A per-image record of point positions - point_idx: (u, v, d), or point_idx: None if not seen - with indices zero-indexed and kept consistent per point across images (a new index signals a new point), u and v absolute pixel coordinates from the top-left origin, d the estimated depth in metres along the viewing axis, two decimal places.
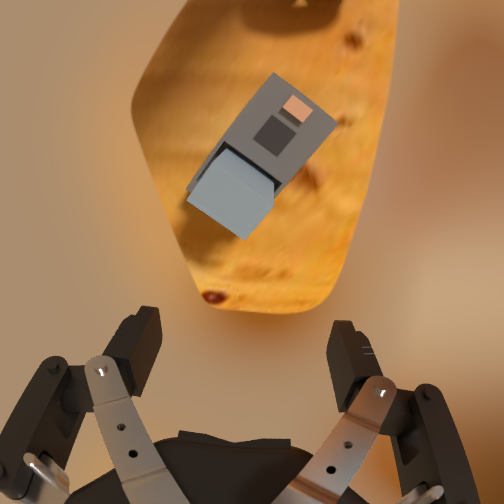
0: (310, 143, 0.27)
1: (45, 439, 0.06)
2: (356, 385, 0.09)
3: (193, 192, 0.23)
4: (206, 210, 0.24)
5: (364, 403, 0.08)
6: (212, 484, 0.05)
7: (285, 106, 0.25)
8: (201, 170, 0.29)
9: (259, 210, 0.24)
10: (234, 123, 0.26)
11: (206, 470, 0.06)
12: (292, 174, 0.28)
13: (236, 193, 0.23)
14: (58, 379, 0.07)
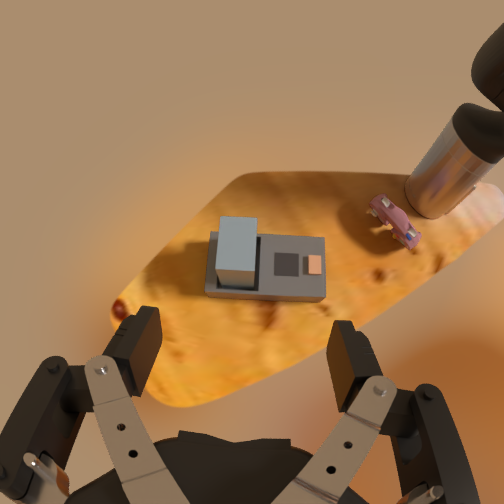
0: (299, 289, 0.36)
1: (45, 439, 0.06)
2: (356, 385, 0.09)
3: (229, 217, 0.32)
4: (221, 232, 0.31)
5: (364, 403, 0.08)
6: (212, 484, 0.05)
7: (310, 256, 0.36)
8: None
9: (244, 264, 0.30)
10: (276, 235, 0.38)
11: (206, 470, 0.06)
12: (269, 293, 0.35)
13: (246, 243, 0.31)
14: (58, 379, 0.07)
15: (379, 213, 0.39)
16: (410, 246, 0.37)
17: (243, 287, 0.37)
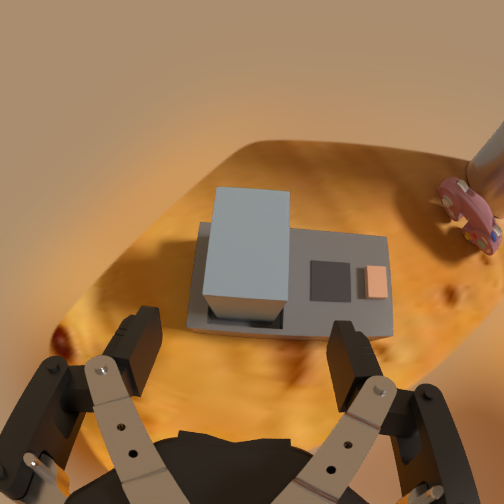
0: None
1: (45, 439, 0.06)
2: (356, 385, 0.09)
3: (233, 189, 0.16)
4: (217, 217, 0.15)
5: (364, 403, 0.08)
6: (211, 484, 0.05)
7: (370, 267, 0.20)
8: None
9: (265, 285, 0.14)
10: (312, 232, 0.22)
11: (206, 470, 0.06)
12: (302, 333, 0.19)
13: (269, 240, 0.15)
14: (58, 379, 0.07)
15: (454, 202, 0.24)
16: (494, 250, 0.22)
17: (255, 320, 0.20)
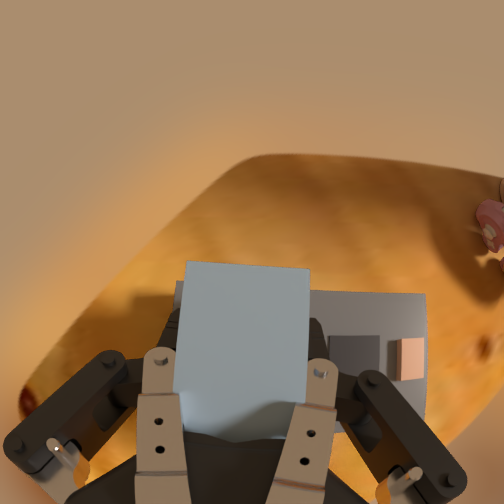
0: None
1: (78, 429, 0.06)
2: None
3: (215, 266, 0.09)
4: (188, 319, 0.09)
5: None
6: (212, 484, 0.05)
7: (405, 341, 0.14)
8: None
9: (267, 434, 0.07)
10: (331, 293, 0.16)
11: (206, 470, 0.06)
12: None
13: (274, 361, 0.08)
14: (116, 373, 0.08)
15: (499, 234, 0.17)
16: None
17: None
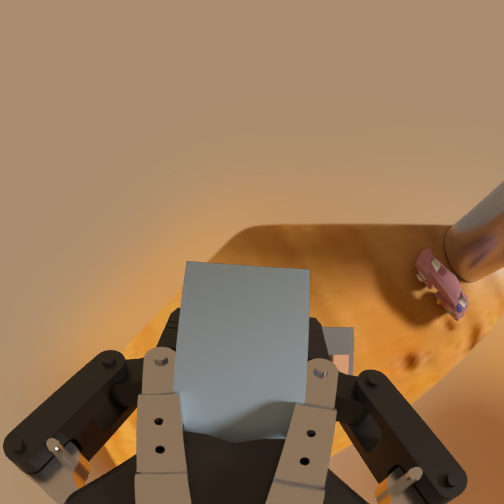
0: None
1: (78, 429, 0.06)
2: None
3: (214, 267, 0.09)
4: (188, 320, 0.09)
5: None
6: (212, 483, 0.05)
7: (335, 356, 0.26)
8: None
9: (267, 434, 0.07)
10: None
11: (206, 470, 0.06)
12: None
13: (274, 362, 0.08)
14: (116, 373, 0.08)
15: (427, 278, 0.29)
16: (459, 318, 0.27)
17: None
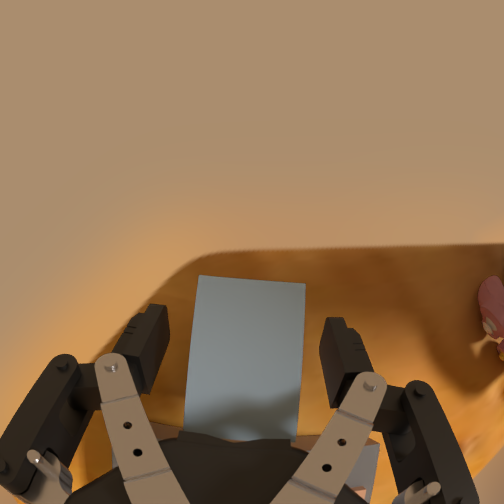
0: None
1: (50, 436, 0.06)
2: (347, 381, 0.09)
3: (223, 280, 0.11)
4: (200, 326, 0.10)
5: (353, 398, 0.08)
6: (211, 484, 0.05)
7: None
8: None
9: (267, 424, 0.09)
10: None
11: (206, 470, 0.06)
12: None
13: (274, 363, 0.10)
14: (68, 377, 0.08)
15: (500, 330, 0.15)
16: None
17: None
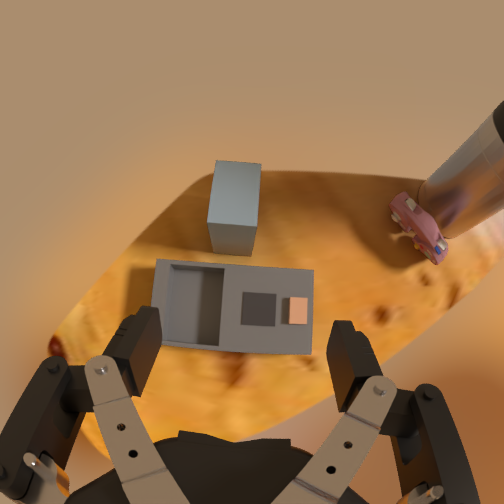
0: (274, 344, 0.25)
1: (45, 439, 0.06)
2: (356, 385, 0.09)
3: (226, 162, 0.25)
4: (216, 178, 0.24)
5: (364, 403, 0.08)
6: (212, 484, 0.05)
7: (292, 299, 0.26)
8: (183, 263, 0.27)
9: (244, 217, 0.23)
10: (246, 267, 0.27)
11: (206, 470, 0.06)
12: (234, 349, 0.25)
13: (247, 192, 0.24)
14: (58, 379, 0.07)
15: (402, 218, 0.30)
16: (438, 261, 0.28)
17: (239, 252, 0.30)
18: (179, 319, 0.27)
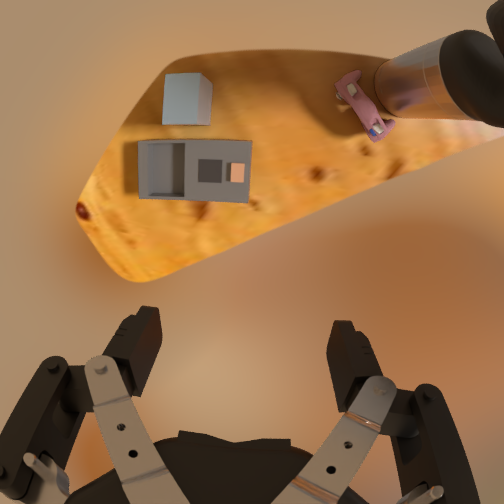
0: (221, 195, 0.37)
1: (45, 439, 0.06)
2: (356, 385, 0.09)
3: (173, 74, 0.27)
4: (166, 89, 0.27)
5: (364, 403, 0.08)
6: (212, 484, 0.05)
7: (233, 164, 0.35)
8: (156, 142, 0.35)
9: (187, 118, 0.29)
10: (200, 141, 0.34)
11: (206, 470, 0.06)
12: (194, 199, 0.38)
13: (189, 98, 0.28)
14: (58, 379, 0.07)
15: None
16: (374, 141, 0.33)
17: None
18: (159, 177, 0.38)
